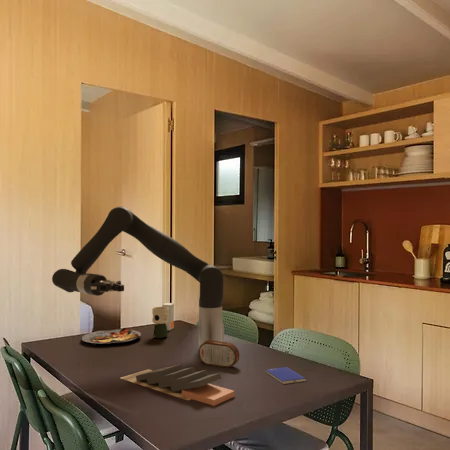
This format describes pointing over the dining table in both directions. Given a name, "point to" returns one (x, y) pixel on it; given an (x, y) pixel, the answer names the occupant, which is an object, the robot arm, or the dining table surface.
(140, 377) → the domino
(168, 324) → the skincare box
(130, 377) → the board
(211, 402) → the domino
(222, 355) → the tin
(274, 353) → the dining table surface
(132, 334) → the food plate
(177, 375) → the domino
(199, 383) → the domino
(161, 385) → the domino
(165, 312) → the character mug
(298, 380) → the blue notebook
